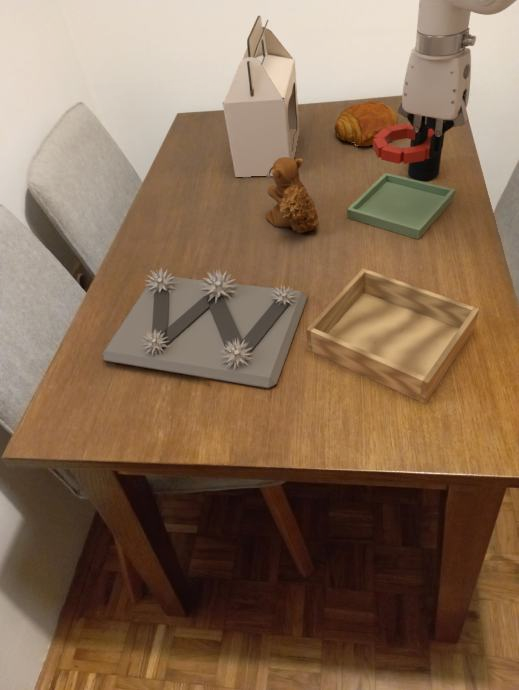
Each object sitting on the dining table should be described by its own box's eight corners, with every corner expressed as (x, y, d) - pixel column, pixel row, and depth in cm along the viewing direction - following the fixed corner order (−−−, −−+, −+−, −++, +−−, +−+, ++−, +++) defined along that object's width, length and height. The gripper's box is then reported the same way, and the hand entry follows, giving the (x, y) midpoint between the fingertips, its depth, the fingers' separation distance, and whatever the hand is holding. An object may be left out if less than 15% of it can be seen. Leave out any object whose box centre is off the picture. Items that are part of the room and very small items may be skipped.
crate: (473, 333, 81) (479, 308, 77) (424, 407, 73) (428, 383, 69) (362, 291, 91) (362, 267, 87) (308, 352, 83) (305, 329, 79)
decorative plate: (101, 365, 87) (86, 335, 82) (156, 281, 100) (145, 251, 95) (275, 394, 78) (270, 363, 73) (309, 298, 91) (307, 266, 86)
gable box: (291, 176, 120) (279, 42, 100) (235, 178, 123) (212, 48, 103) (300, 131, 135) (291, 7, 115) (249, 134, 138) (232, 13, 117)
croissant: (331, 136, 136) (326, 106, 130) (389, 116, 134) (386, 84, 129) (347, 161, 125) (342, 129, 120) (410, 139, 124) (408, 106, 119)
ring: (446, 141, 97) (447, 130, 96) (418, 168, 92) (419, 157, 90) (392, 130, 103) (392, 119, 101) (363, 155, 97) (363, 145, 96)
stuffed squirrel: (305, 199, 113) (300, 141, 103) (333, 233, 103) (331, 172, 94) (261, 213, 112) (253, 155, 102) (286, 248, 102) (280, 188, 92)
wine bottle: (406, 180, 113) (419, 24, 91) (409, 165, 117) (423, 12, 95) (437, 182, 111) (458, 23, 90) (439, 166, 115) (460, 11, 94)
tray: (454, 198, 106) (455, 189, 105) (418, 239, 99) (419, 230, 97) (385, 181, 114) (385, 172, 113) (347, 218, 106) (346, 209, 105)
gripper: (501, 37, 80) (479, 152, 93) (405, 28, 87) (397, 135, 101) (481, 55, 76) (461, 172, 89) (382, 44, 84) (377, 153, 97)
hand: (427, 152), depth 95 cm, fingers closed on ring, 2 cm apart
